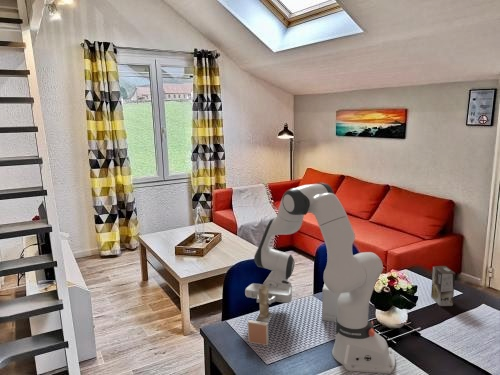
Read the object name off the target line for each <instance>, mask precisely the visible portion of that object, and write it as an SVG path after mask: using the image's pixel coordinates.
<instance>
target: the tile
mask: <svg viewBox="0 0 500 375" xmlns="http://www.w3.org/2000/svg"><path fill="white" fill-rule="evenodd" d="M247 329H248V330H247V334H248V336H247V337H248V343H251V344H252V343H253V344H258V345H262V346H263V345H264V346H269V342H270V340H269V322H268V323H266V322H260V321H256V320H251V319H248V321H247Z"/></svg>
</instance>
